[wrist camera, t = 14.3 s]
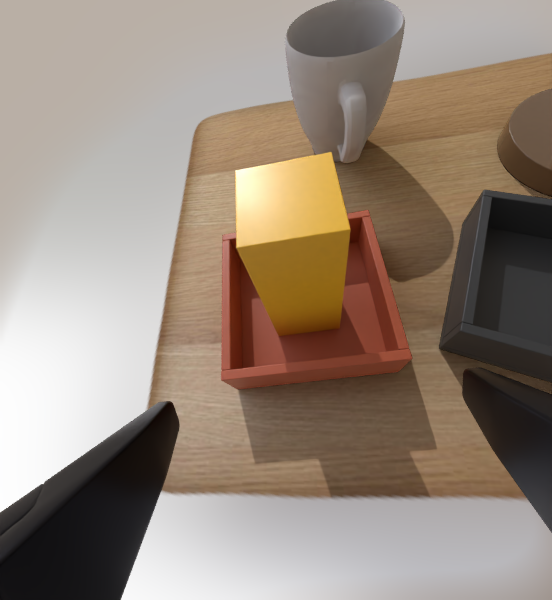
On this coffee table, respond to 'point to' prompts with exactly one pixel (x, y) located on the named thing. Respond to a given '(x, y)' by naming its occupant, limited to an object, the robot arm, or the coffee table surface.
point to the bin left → (321, 344)
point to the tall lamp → (529, 142)
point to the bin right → (503, 285)
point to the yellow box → (294, 240)
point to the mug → (343, 71)
